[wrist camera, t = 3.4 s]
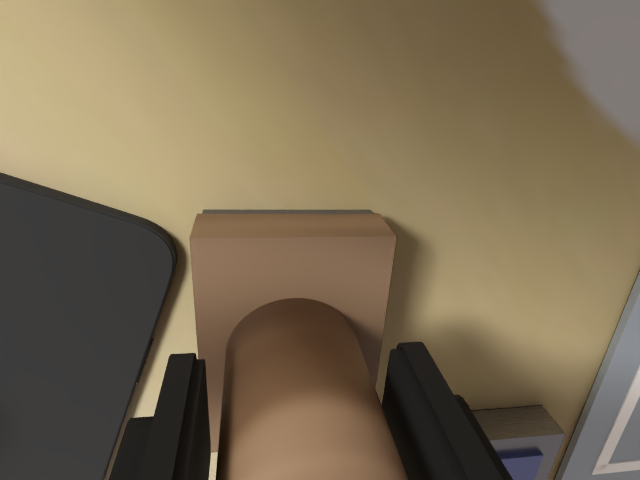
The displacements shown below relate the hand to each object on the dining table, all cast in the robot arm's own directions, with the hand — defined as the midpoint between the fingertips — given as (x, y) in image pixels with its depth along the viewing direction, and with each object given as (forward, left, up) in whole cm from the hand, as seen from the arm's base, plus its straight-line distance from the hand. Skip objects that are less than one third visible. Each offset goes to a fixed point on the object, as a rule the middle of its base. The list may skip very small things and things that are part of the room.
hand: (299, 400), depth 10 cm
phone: (+3, -9, -5) cm, 10 cm away
